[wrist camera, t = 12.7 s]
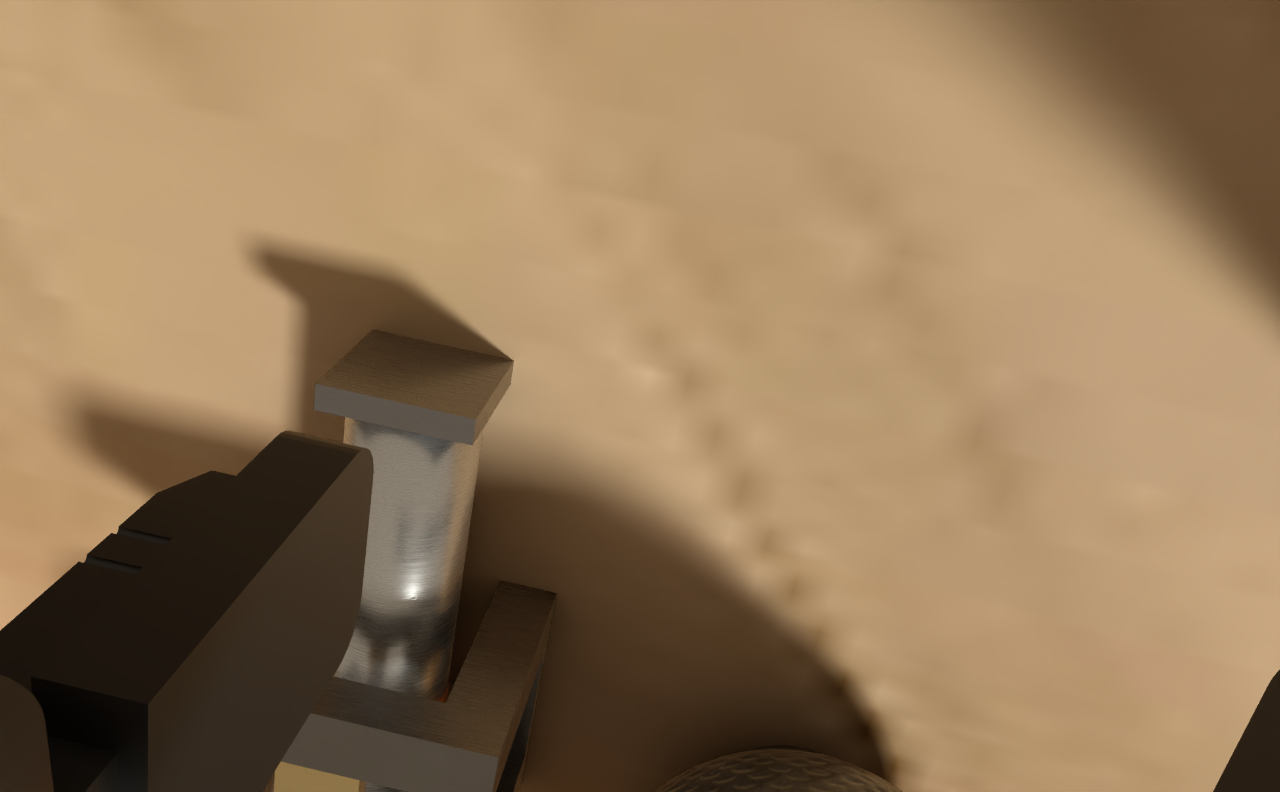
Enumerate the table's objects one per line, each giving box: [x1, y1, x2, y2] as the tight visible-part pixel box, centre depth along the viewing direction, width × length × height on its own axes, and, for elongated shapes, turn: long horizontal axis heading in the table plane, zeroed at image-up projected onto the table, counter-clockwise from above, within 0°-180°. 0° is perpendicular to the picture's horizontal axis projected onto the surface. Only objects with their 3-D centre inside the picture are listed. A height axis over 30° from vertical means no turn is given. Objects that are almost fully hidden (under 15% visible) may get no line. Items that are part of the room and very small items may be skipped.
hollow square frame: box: [262, 581, 556, 792], centre depth 44 cm, size 12×10×10 cm
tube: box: [314, 330, 514, 792], centre depth 44 cm, size 6×22×6 cm, turn 169°
